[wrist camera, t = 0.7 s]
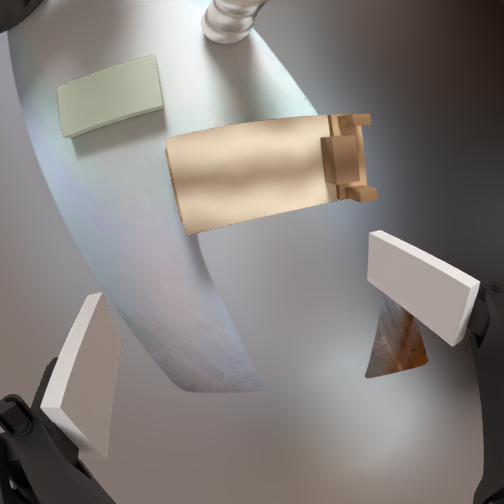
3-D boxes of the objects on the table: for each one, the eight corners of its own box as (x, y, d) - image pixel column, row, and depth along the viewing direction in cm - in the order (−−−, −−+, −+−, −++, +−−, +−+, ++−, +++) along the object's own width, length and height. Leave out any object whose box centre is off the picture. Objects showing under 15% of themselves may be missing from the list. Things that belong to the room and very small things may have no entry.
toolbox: (166, 142, 32) (160, 137, 21) (323, 118, 36) (375, 112, 25) (182, 216, 36) (184, 245, 25) (331, 184, 40) (382, 199, 29)
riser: (64, 91, 26) (56, 87, 23) (156, 61, 28) (154, 54, 25) (71, 138, 28) (62, 137, 26) (163, 109, 31) (162, 105, 28)
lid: (166, 139, 26) (165, 138, 24) (318, 116, 29) (327, 114, 27) (186, 230, 30) (186, 235, 28) (328, 198, 33) (337, 201, 31)
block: (320, 137, 28) (331, 137, 25) (343, 135, 28) (355, 135, 26) (325, 182, 30) (336, 184, 27) (347, 178, 30) (360, 181, 28)
